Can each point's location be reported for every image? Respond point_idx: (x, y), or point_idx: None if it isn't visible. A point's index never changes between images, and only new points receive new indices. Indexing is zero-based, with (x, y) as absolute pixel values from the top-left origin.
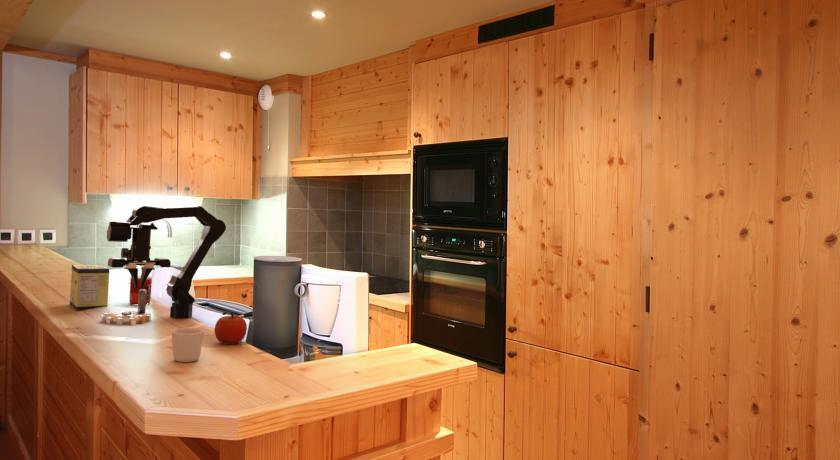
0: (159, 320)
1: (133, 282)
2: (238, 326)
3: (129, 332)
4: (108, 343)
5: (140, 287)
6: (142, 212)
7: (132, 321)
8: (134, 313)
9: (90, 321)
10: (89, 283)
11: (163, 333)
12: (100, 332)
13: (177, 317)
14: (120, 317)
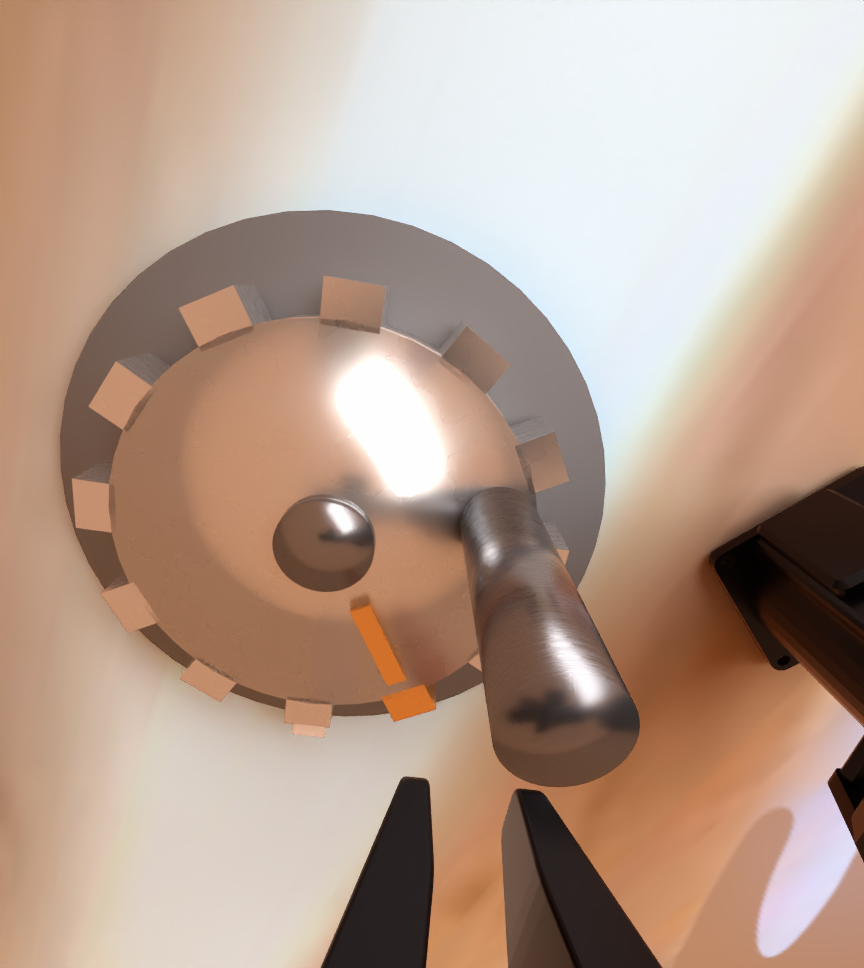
0: (660, 494)
1: (351, 901)
2: None
3: (249, 776)
4: (64, 935)
5: (509, 809)
6: None
7: (297, 730)
8: (423, 517)
9: (67, 210)
10: None
11: None
12: (72, 701)
13: (766, 624)
14: (221, 650)
